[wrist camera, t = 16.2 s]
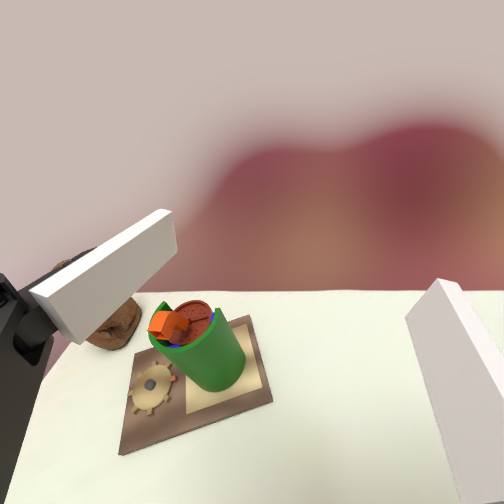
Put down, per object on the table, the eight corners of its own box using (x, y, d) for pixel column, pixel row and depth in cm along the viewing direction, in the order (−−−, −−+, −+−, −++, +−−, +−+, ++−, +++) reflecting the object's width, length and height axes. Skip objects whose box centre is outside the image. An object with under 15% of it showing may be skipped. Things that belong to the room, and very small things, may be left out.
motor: (246, 338, 43) (212, 270, 29) (244, 391, 36) (200, 335, 23) (197, 342, 44) (143, 280, 31) (187, 394, 38) (113, 343, 24)
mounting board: (273, 401, 35) (270, 395, 33) (122, 455, 34) (109, 453, 32) (250, 317, 47) (246, 309, 45) (137, 355, 46) (129, 349, 44)
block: (120, 311, 57) (58, 256, 43) (147, 307, 55) (92, 251, 42) (99, 354, 49) (15, 304, 35) (129, 351, 48) (54, 298, 34)
